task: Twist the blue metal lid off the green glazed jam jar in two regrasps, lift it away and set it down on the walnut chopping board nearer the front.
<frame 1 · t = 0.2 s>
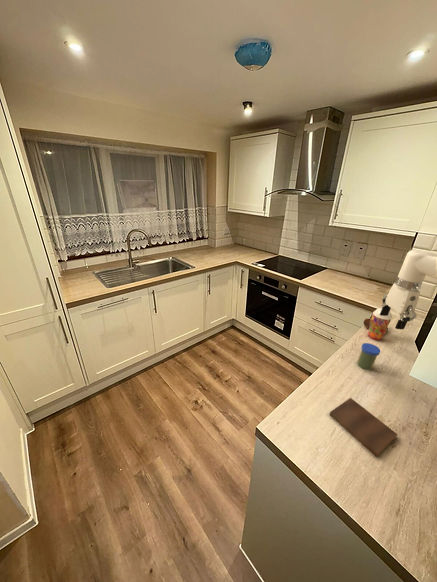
hand: (391, 321, 95), 23 cm above the worktop, tool pointing down, fingers open, 9 cm apart
board: (361, 425, 79), on the worktop
lid: (370, 348, 101), point 9 cm above the worktop, screwed on, not yet turned
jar: (364, 365, 105), on the worktop
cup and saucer: (374, 328, 133), on the worktop
smoothie: (374, 337, 125), on the worktop
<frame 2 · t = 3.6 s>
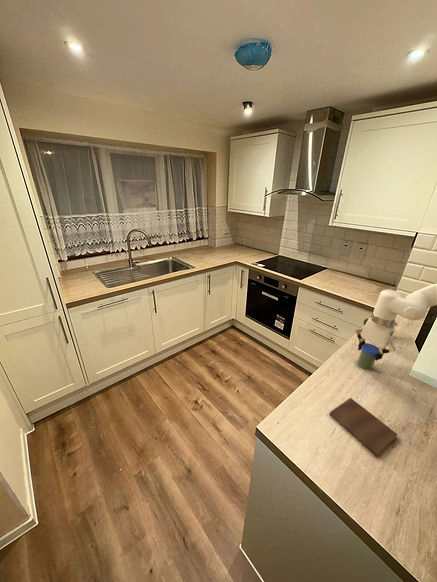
hand: (368, 353, 102), 7 cm above the worktop, tool pointing down, fingers closed on lid, 6 cm apart
lid: (370, 348, 101), point 9 cm above the worktop, screwed on, not yet turned, touching gripper
everything else where it was.
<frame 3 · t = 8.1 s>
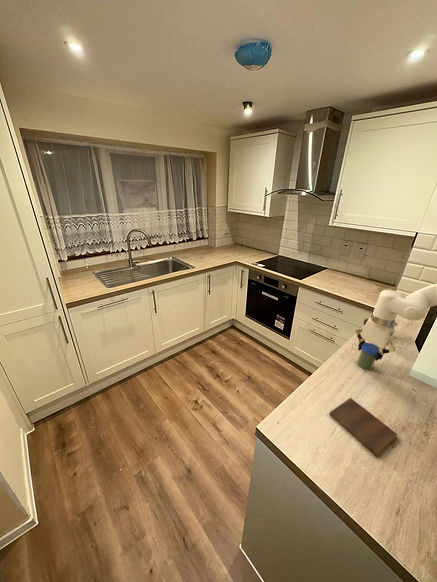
hand: (368, 353, 103), 6 cm above the worktop, tool pointing down, fingers closed on lid, 6 cm apart
lid: (371, 348, 101), point 10 cm above the worktop, turned 90° so far, risen 0.2 cm, still on its thread, touching gripper
everything else where it was.
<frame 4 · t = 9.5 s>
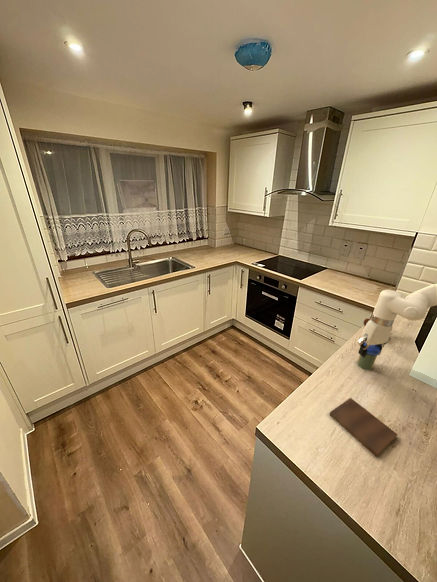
hand: (368, 353, 103), 6 cm above the worktop, tool pointing down, fingers closed on lid, 6 cm apart
lid: (371, 348, 101), point 10 cm above the worktop, off its thread, touching gripper
everything else where it was.
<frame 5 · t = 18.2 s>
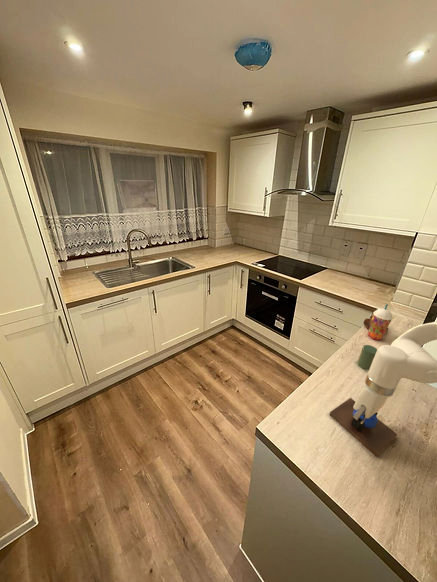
hand: (362, 422, 78), 2 cm above the worktop, tool pointing down, fingers closed on lid, 6 cm apart
lid: (365, 415, 77), point 5 cm above the worktop, off its thread, touching gripper
everything else where it was.
when the fingers open (2 cm above the worktop, at t = 27.5 s): lid drops 3 cm, resting on board.
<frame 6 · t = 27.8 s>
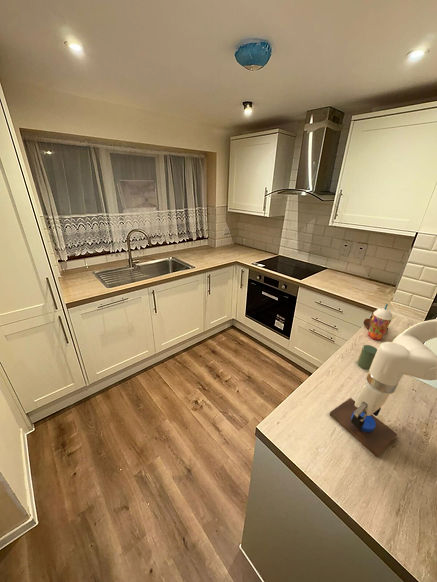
hand: (364, 418, 77), 3 cm above the worktop, tool pointing down, fingers open, 9 cm apart
lid: (363, 420, 78), point 3 cm above the worktop, off its thread, touching board
everything else where it was.
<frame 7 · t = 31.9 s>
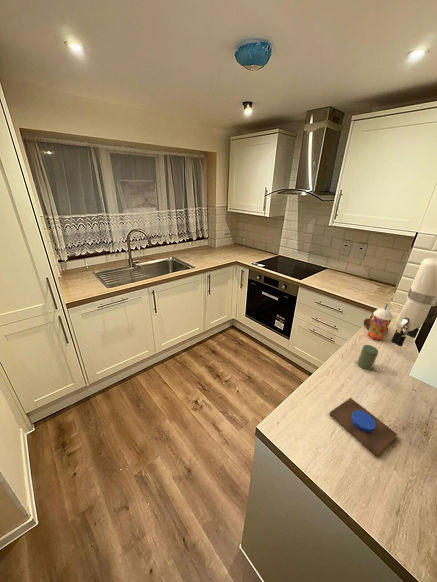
hand: (403, 339, 83), 24 cm above the worktop, tool pointing down, fingers open, 9 cm apart
nothing on the worktop moved.
at the end: lid came off its thread; lid inside the target area on the board (0.1 cm from its centre), point 2.6 cm above the board's base; the gripper is holding nothing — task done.
